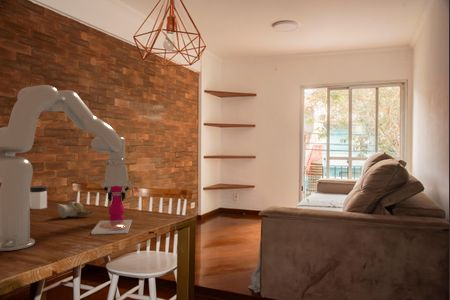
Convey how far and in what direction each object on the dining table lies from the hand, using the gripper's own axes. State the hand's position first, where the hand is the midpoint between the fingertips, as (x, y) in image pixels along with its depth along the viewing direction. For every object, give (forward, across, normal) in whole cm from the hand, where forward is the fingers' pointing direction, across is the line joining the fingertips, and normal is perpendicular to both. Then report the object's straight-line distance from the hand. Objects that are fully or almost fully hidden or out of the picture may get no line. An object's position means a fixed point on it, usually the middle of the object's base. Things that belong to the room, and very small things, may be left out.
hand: (116, 200), depth 164 cm
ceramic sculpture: (+10, -22, +11) cm, 26 cm away
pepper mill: (+10, 0, 0) cm, 10 cm away
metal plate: (+9, 0, -16) cm, 19 cm away
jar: (+10, -47, +38) cm, 61 cm away
